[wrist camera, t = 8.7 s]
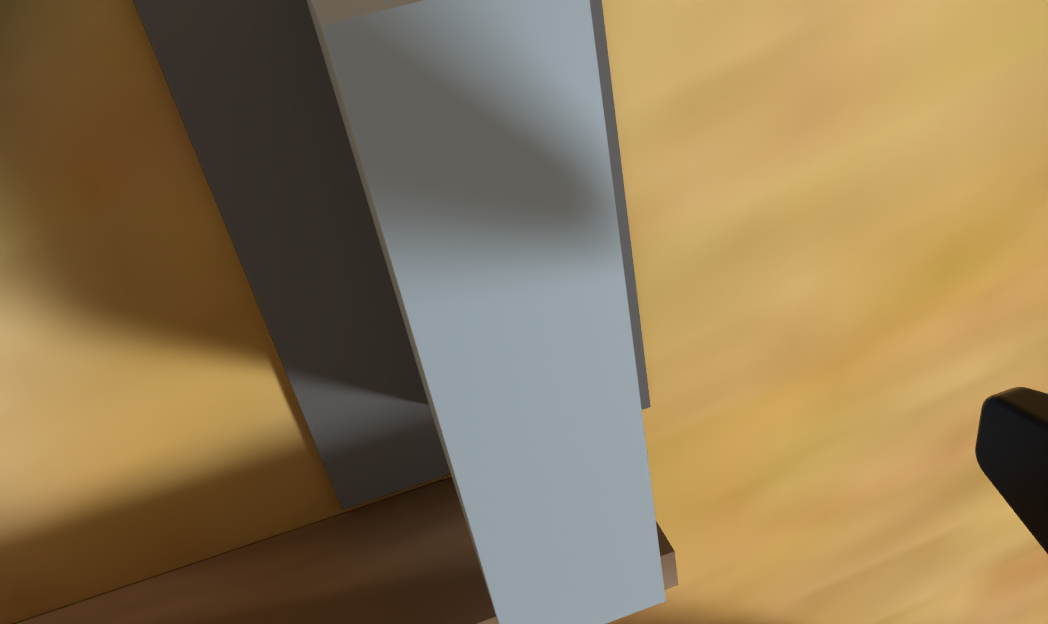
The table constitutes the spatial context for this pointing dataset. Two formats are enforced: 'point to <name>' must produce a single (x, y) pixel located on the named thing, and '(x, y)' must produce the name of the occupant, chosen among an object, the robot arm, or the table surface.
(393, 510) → the rack
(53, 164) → the table surface
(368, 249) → the mat
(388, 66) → the block
